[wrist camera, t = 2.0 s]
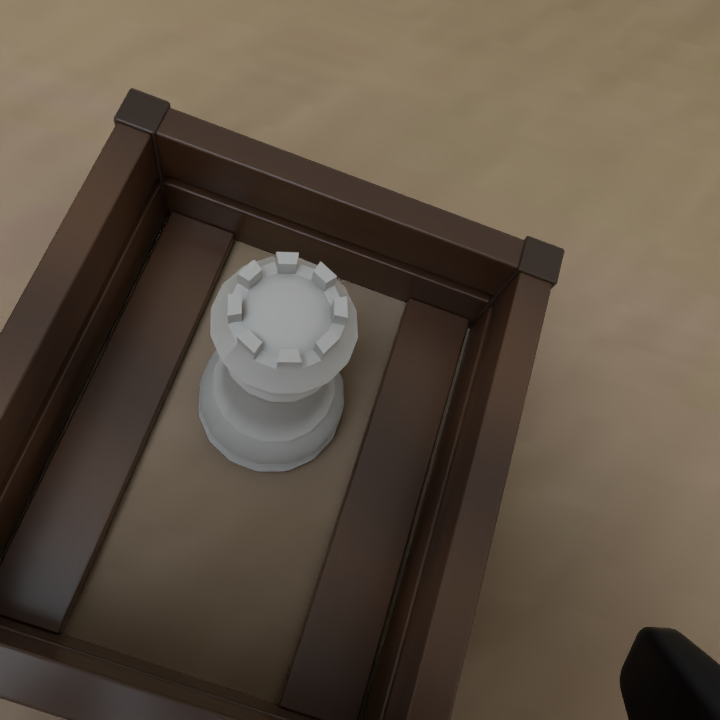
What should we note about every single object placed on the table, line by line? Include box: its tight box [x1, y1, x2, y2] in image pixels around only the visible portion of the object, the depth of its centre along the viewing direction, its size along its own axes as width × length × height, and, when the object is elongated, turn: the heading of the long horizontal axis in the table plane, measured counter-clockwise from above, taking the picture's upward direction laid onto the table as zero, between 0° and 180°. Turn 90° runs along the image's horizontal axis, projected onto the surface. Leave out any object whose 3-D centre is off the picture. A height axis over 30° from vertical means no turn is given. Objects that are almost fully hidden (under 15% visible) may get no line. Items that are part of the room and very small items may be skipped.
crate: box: [0, 88, 564, 720], centre depth 19 cm, size 15×13×5 cm
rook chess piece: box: [199, 252, 358, 472], centre depth 18 cm, size 4×4×8 cm
